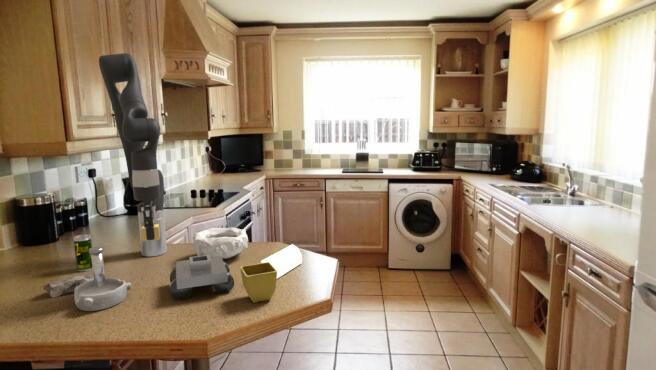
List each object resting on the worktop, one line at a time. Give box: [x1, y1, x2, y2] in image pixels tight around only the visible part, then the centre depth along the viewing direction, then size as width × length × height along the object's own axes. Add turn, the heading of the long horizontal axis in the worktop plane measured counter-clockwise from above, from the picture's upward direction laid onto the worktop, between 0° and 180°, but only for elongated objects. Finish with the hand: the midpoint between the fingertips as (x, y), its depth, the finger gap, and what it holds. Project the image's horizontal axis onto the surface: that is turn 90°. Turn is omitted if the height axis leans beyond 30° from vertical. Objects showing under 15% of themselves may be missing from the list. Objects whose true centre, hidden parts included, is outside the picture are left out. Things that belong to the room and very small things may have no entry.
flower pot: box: [239, 262, 278, 304], centre depth 117 cm, size 9×9×9 cm
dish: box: [73, 277, 132, 312], centre depth 118 cm, size 14×14×5 cm
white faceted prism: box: [257, 243, 303, 279], centre depth 138 cm, size 7×7×24 cm
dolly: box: [169, 255, 235, 301], centre depth 125 cm, size 16×18×10 cm
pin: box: [89, 246, 106, 287], centre depth 116 cm, size 4×4×11 cm
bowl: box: [192, 226, 250, 260], centre depth 154 cm, size 21×20×10 cm
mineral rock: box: [42, 274, 94, 298], centre depth 126 cm, size 15×8×4 cm, turn 120°
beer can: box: [73, 233, 93, 273], centre depth 143 cm, size 5×5×12 cm
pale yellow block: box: [141, 224, 160, 241], centre depth 129 cm, size 4×5×4 cm
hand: (151, 237), depth 129 cm, fingers closed on pale yellow block, 4 cm apart
